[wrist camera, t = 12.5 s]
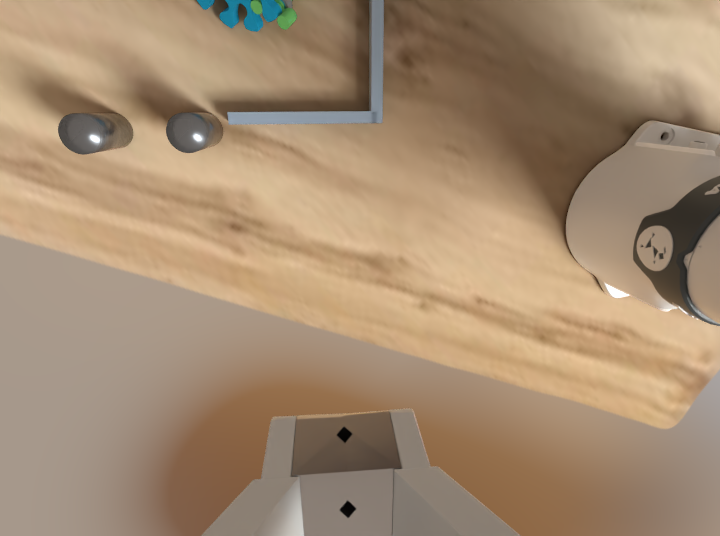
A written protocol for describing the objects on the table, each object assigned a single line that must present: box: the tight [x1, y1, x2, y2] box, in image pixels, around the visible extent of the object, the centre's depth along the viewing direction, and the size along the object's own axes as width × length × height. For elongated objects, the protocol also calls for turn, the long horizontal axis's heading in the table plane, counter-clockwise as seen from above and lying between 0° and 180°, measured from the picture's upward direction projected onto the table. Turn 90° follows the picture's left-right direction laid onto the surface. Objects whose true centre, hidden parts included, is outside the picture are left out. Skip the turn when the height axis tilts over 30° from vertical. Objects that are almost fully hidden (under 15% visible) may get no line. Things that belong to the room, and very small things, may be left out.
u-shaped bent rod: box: [228, 0, 384, 124], centre depth 35 cm, size 14×17×2 cm
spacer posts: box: [58, 112, 223, 154], centre depth 32 cm, size 11×21×6 cm, turn 0°
